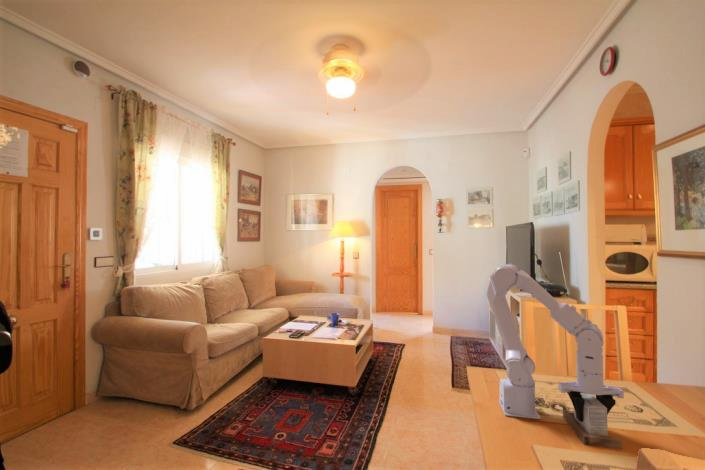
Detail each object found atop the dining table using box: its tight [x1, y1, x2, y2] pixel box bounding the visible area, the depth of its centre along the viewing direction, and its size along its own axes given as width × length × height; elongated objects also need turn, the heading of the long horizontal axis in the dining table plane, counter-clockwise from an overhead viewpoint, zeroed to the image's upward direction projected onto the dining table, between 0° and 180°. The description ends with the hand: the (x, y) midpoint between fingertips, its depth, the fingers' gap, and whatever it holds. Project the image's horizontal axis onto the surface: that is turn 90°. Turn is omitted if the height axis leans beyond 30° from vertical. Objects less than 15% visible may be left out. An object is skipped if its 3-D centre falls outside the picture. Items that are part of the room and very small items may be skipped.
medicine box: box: [573, 393, 609, 437], centre depth 84 cm, size 8×4×9 cm, turn 168°
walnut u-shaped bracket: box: [562, 409, 623, 450], centre depth 84 cm, size 8×12×2 cm, turn 167°
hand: (590, 420), depth 84 cm, fingers closed on medicine box, 4 cm apart
